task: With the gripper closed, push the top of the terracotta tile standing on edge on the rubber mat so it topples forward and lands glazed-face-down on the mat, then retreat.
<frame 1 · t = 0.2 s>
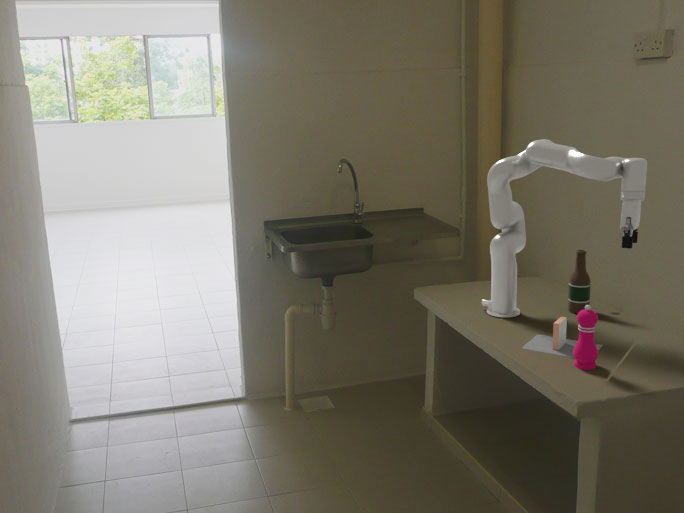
hand: (629, 245, 235), 31 cm above the countertop, tool pointing down, fingers open, 9 cm apart
mat: (562, 348, 228), on the countertop
beer bottle: (578, 311, 266), on the countertop
tile: (559, 346, 228), point 1 cm above the countertop, touching mat
pepper mill: (584, 368, 211), on the countertop
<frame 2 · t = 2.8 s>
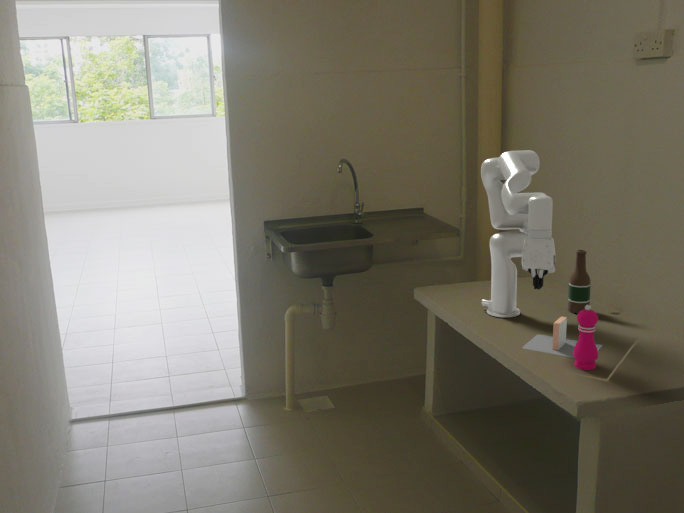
hand: (537, 288, 229), 19 cm above the countertop, tool pointing down, fingers closed
nothing on the countertop moved.
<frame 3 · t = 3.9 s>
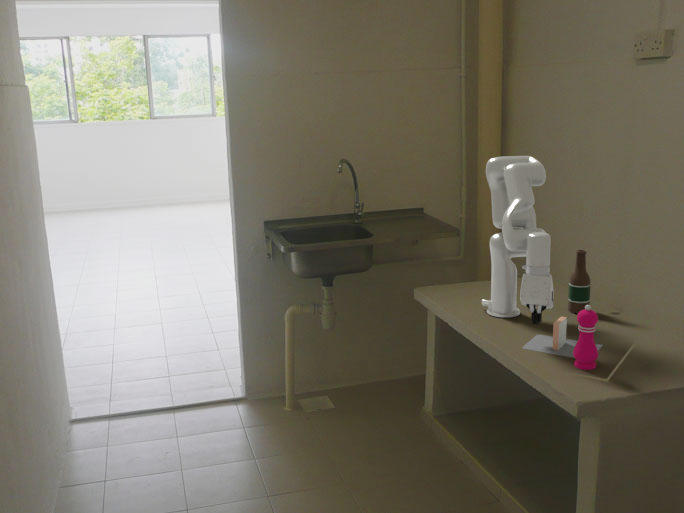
hand: (536, 323, 231), 7 cm above the countertop, tool pointing down, fingers closed
nothing on the countertop moved.
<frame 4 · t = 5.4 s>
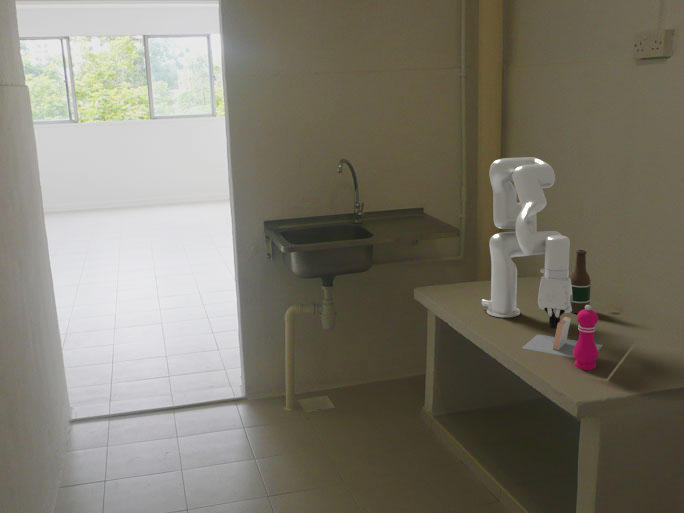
hand: (554, 327, 228), 7 cm above the countertop, tool pointing down, fingers closed
tile: (559, 345, 228), point 1 cm above the countertop, tilted 8°, touching mat
everything else where it was.
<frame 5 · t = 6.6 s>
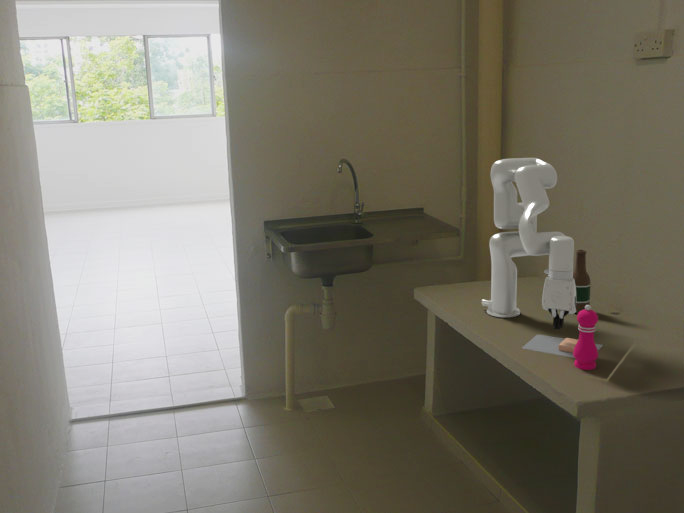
hand: (558, 328, 227), 7 cm above the countertop, tool pointing down, fingers closed
tile: (562, 343, 227), point 2 cm above the countertop, tilted 90°, touching mat
everything else where it was.
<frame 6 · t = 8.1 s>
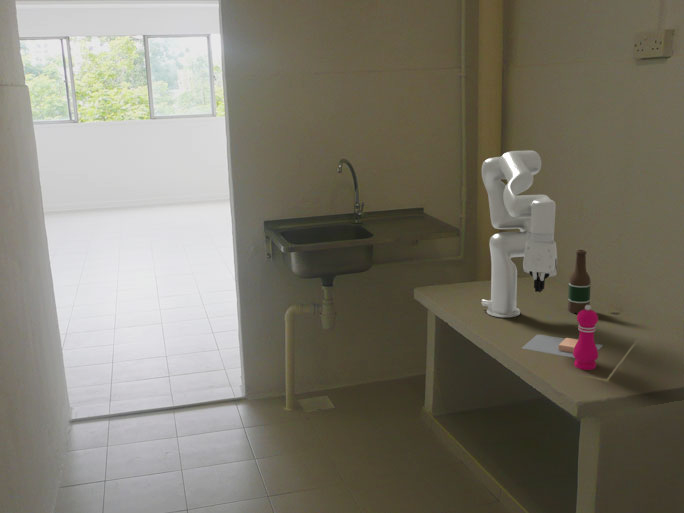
hand: (538, 290, 229), 18 cm above the countertop, tool pointing down, fingers closed
nothing on the countertop moved.
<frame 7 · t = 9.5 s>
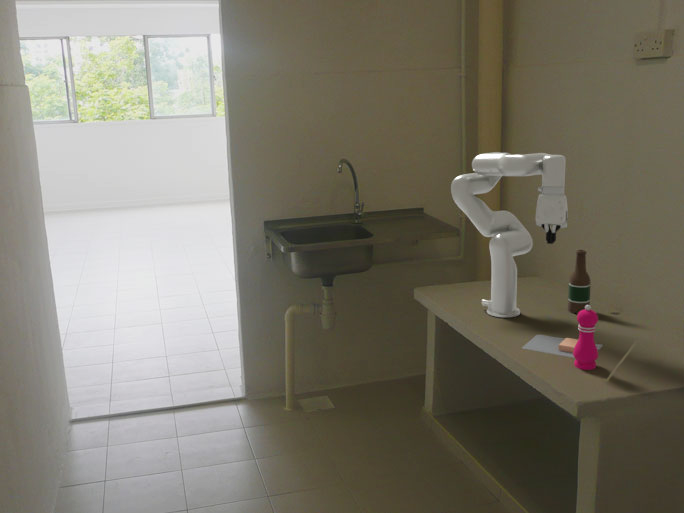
hand: (550, 243, 242), 31 cm above the countertop, tool pointing down, fingers closed
nothing on the countertop moved.
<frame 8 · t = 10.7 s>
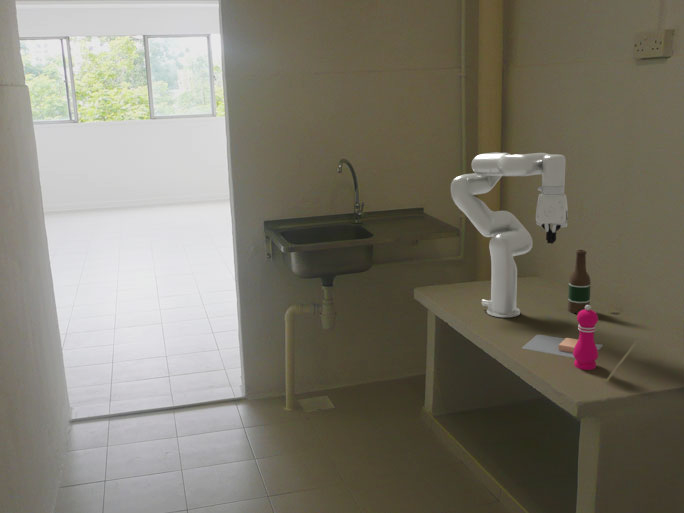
hand: (551, 242, 242), 31 cm above the countertop, tool pointing down, fingers closed
nothing on the countertop moved.
at the end: tile tilted 90°; tile inside the target area (3.9 cm from its centre), point 1.6 cm above the countertop; the gripper is holding nothing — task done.
